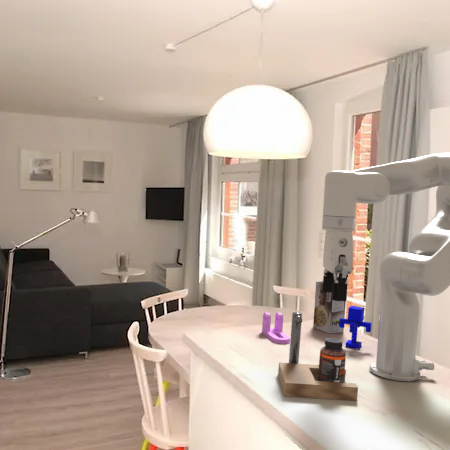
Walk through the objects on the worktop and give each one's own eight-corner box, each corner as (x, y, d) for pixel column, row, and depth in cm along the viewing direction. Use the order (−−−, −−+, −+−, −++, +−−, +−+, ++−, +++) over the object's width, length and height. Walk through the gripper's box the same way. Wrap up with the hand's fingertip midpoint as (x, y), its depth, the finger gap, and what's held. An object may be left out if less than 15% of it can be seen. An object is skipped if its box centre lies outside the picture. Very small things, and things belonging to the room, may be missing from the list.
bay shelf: (342, 378, 127) (343, 366, 127) (357, 400, 113) (358, 387, 113) (278, 374, 127) (279, 362, 127) (284, 396, 113) (285, 382, 113)
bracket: (261, 332, 167) (263, 311, 166) (278, 332, 168) (279, 311, 168) (275, 344, 154) (276, 321, 154) (292, 344, 155) (294, 321, 155)
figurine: (349, 350, 152) (352, 310, 151) (336, 343, 159) (338, 305, 158) (371, 349, 154) (374, 310, 154) (357, 342, 161) (359, 304, 161)
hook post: (299, 369, 132) (304, 311, 131) (303, 378, 125) (308, 317, 124) (284, 368, 132) (288, 310, 131) (287, 377, 125) (291, 316, 124)
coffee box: (344, 332, 173) (348, 285, 172) (329, 334, 170) (333, 285, 169) (326, 325, 181) (329, 280, 180) (312, 327, 178) (315, 280, 177)
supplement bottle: (343, 393, 117) (347, 345, 116) (317, 390, 118) (320, 341, 117) (342, 384, 123) (346, 338, 122) (317, 381, 124) (321, 335, 123)
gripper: (365, 227, 112) (360, 305, 113) (344, 222, 129) (340, 290, 130) (331, 225, 111) (326, 303, 113) (314, 221, 129) (310, 288, 130)
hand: (333, 296), depth 121 cm, fingers open, 9 cm apart
